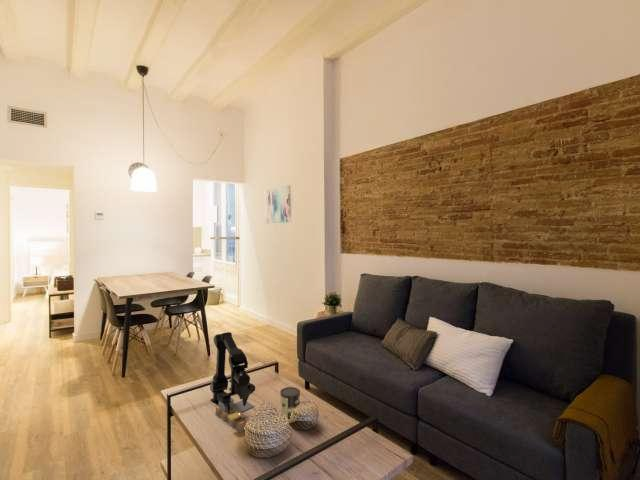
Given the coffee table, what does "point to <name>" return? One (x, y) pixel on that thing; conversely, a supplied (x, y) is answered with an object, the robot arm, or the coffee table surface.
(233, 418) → the lever
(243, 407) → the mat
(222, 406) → the cap block
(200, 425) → the coffee table surface
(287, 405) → the coffee can
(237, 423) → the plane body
